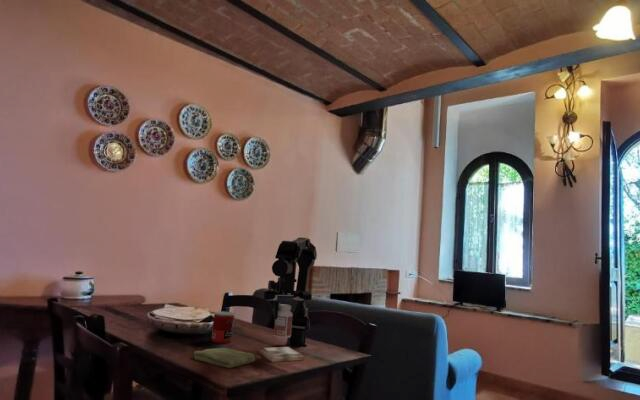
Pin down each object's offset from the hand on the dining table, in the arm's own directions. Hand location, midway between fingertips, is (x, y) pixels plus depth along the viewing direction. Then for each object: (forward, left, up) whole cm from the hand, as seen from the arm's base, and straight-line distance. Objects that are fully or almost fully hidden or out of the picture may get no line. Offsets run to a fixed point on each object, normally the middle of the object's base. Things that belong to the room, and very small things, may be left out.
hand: (283, 319), depth 151 cm
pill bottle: (0, 0, -6) cm, 6 cm away
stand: (0, 0, -13) cm, 13 cm away
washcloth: (+21, +1, -14) cm, 25 cm away
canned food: (+14, -26, -13) cm, 32 cm away
